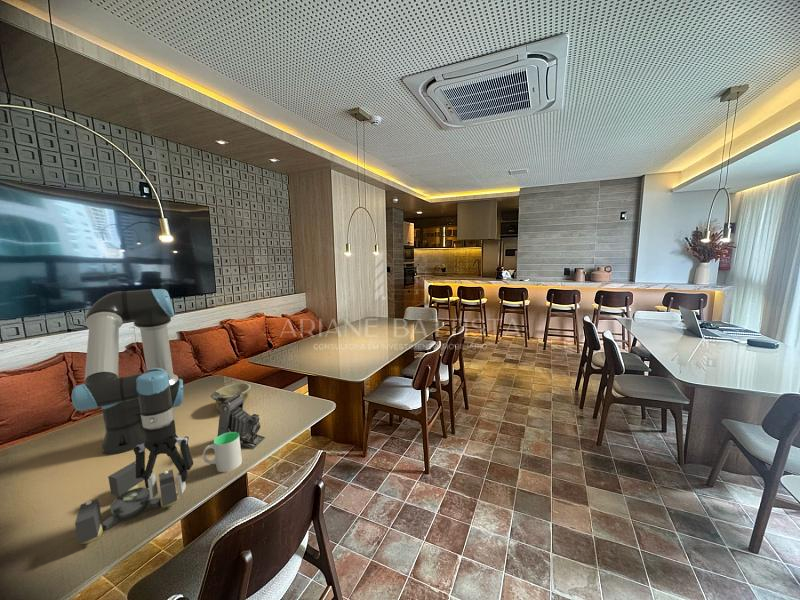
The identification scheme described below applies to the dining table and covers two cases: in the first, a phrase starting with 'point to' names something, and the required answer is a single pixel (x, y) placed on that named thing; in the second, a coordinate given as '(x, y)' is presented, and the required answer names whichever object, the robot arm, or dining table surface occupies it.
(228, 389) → the bowl
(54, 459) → the dining table surface
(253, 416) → the camera
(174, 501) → the knob
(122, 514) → the level base
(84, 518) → the knob
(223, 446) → the mug
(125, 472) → the grey block with dot
